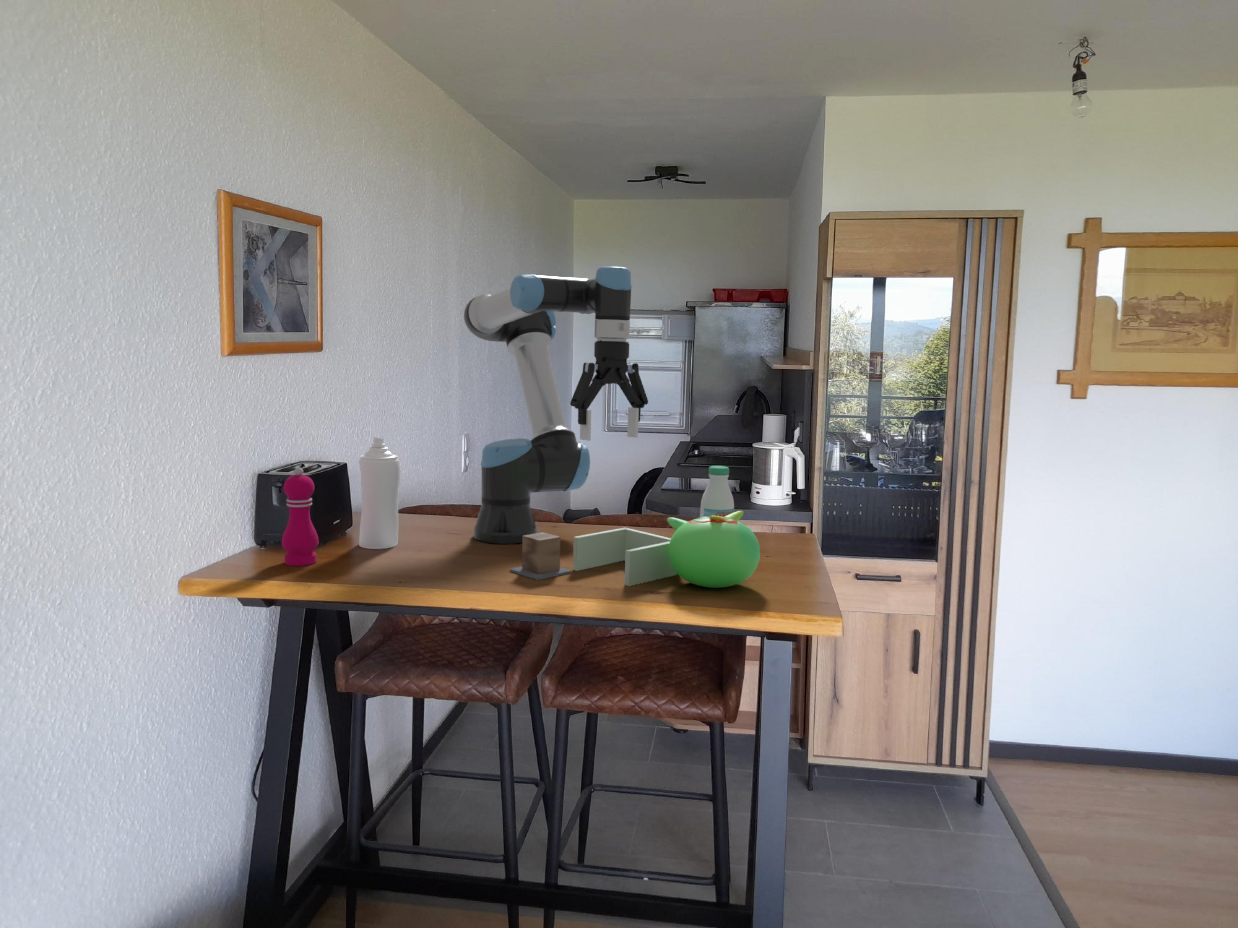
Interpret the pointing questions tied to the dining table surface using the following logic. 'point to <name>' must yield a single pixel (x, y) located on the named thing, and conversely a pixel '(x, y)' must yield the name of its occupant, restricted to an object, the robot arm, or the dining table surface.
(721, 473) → the milk bottle
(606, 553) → the u-shaped panel enclosure
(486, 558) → the dining table surface
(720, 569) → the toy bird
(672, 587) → the dining table surface
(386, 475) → the spray can
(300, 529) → the pepper mill
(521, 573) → the coaster
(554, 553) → the walnut block
